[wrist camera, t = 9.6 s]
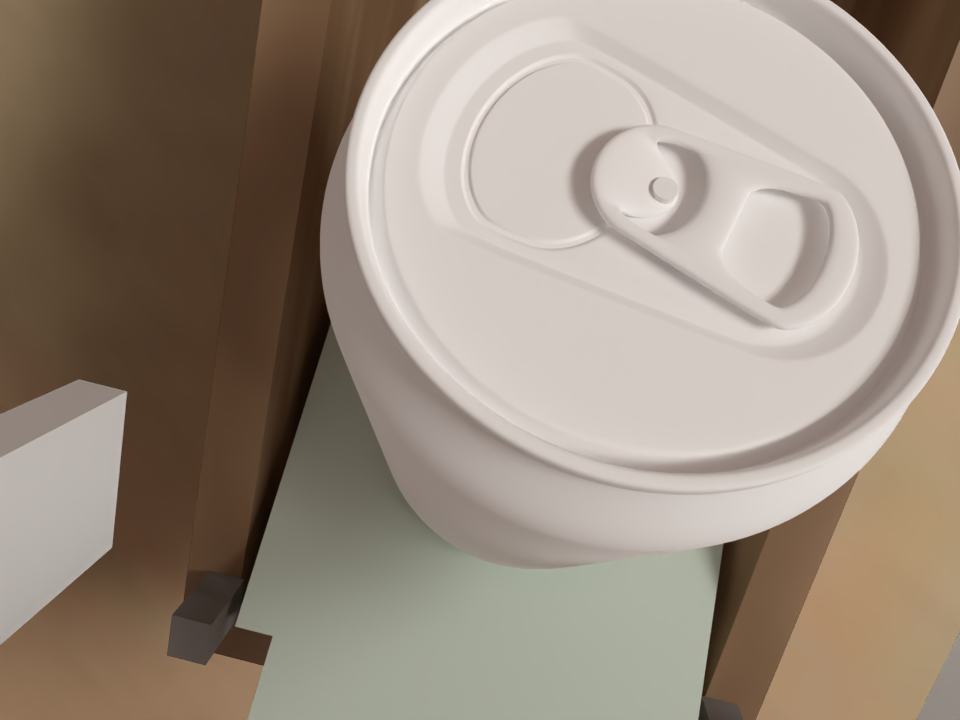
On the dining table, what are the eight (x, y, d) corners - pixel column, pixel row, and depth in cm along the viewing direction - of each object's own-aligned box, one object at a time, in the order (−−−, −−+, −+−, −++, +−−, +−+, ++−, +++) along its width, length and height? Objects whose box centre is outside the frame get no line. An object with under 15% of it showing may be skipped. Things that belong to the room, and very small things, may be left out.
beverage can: (470, 239, 21) (510, -181, 9) (716, 365, 20) (1085, 72, 9) (325, 475, 18) (141, 295, 7) (598, 629, 18) (893, 711, 6)
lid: (138, 981, 17) (99, 1037, 15) (353, 290, 22) (344, 265, 20) (618, 1109, 17) (641, 1182, 15) (727, 381, 21) (755, 366, 20)
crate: (327, 449, 34) (138, 694, 18) (440, -160, 27) (294, -655, 11) (648, 529, 33) (749, 852, 17) (847, -65, 26) (1316, -432, 10)
